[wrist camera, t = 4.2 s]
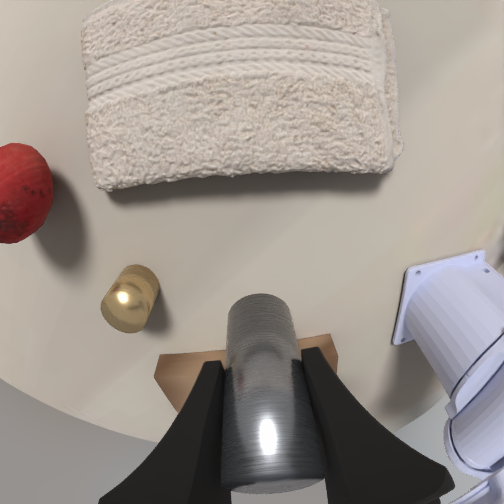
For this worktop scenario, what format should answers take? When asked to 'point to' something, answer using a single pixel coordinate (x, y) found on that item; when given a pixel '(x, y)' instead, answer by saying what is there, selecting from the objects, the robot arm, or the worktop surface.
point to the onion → (23, 192)
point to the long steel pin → (266, 403)
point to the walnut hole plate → (189, 364)
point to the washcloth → (238, 89)
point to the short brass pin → (130, 299)
